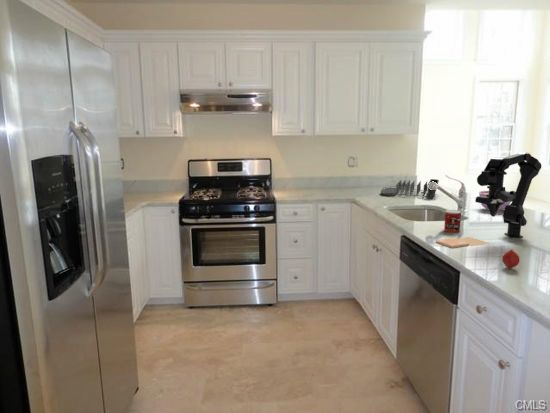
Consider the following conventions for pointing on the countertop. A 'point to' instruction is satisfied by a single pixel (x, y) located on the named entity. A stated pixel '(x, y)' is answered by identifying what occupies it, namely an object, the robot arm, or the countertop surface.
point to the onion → (510, 259)
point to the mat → (472, 241)
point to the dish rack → (406, 187)
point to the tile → (452, 243)
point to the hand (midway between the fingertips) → (493, 216)
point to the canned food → (452, 220)
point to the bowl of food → (484, 193)
